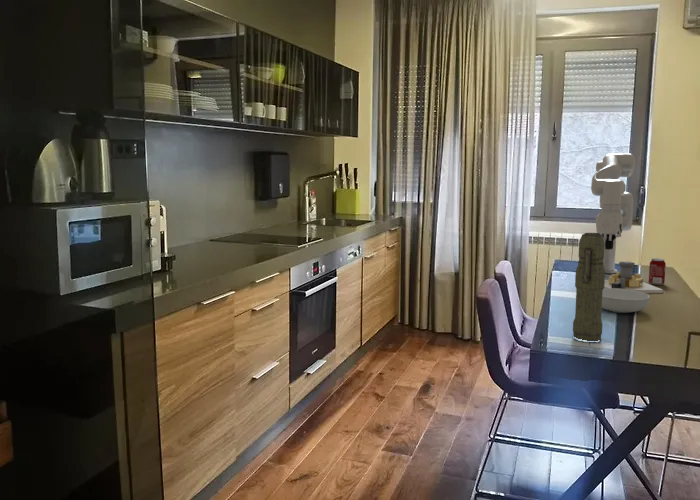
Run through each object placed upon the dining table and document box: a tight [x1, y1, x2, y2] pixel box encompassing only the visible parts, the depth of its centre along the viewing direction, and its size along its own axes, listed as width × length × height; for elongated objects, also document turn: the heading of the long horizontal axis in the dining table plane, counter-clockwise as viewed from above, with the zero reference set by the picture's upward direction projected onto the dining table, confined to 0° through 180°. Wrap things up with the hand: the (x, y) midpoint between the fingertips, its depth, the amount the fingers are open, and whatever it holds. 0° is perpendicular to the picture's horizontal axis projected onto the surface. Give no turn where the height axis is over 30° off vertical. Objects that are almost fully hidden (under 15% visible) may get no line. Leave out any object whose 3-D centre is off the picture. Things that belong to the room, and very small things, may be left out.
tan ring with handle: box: [608, 271, 644, 288], centre depth 268 cm, size 24×14×4 cm, turn 140°
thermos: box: [572, 232, 606, 341], centre depth 191 cm, size 9×12×35 cm
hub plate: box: [604, 261, 664, 294], centre depth 272 cm, size 24×22×12 cm
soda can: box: [648, 258, 667, 286], centre depth 279 cm, size 7×7×12 cm
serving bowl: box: [602, 288, 651, 314], centre depth 231 cm, size 21×21×7 cm
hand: (608, 249), depth 264 cm, fingers closed
